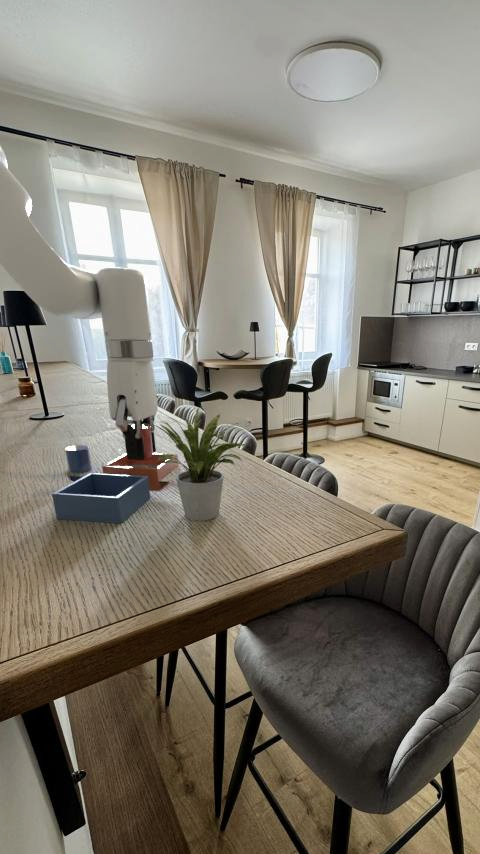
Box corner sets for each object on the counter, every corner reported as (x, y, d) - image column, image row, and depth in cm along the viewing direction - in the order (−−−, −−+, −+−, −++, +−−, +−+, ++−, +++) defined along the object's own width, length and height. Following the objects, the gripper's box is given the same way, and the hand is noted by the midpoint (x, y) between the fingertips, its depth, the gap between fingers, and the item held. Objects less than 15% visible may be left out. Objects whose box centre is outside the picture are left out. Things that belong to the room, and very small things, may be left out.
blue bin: (56, 518, 61) (51, 493, 60) (93, 495, 71) (90, 472, 69) (121, 523, 60) (118, 498, 59) (150, 498, 70) (148, 476, 68)
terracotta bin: (105, 487, 74) (101, 466, 73) (130, 470, 84) (128, 451, 82) (159, 490, 73) (157, 469, 72) (179, 473, 83) (177, 454, 81)
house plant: (161, 546, 54) (149, 422, 48) (137, 509, 65) (125, 405, 59) (258, 524, 61) (257, 413, 55) (221, 494, 72) (217, 399, 66)
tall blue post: (65, 481, 77) (60, 450, 75) (78, 474, 81) (73, 444, 79) (85, 482, 77) (80, 451, 74) (97, 475, 80) (92, 445, 78)
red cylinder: (127, 460, 75) (123, 428, 73) (137, 455, 79) (133, 424, 77) (148, 462, 75) (144, 429, 73) (157, 456, 78) (153, 424, 76)
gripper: (131, 350, 78) (142, 444, 85) (81, 352, 63) (99, 467, 69) (169, 350, 77) (177, 445, 84) (128, 353, 62) (141, 470, 68)
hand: (141, 454), depth 77 cm, fingers closed on red cylinder, 4 cm apart
